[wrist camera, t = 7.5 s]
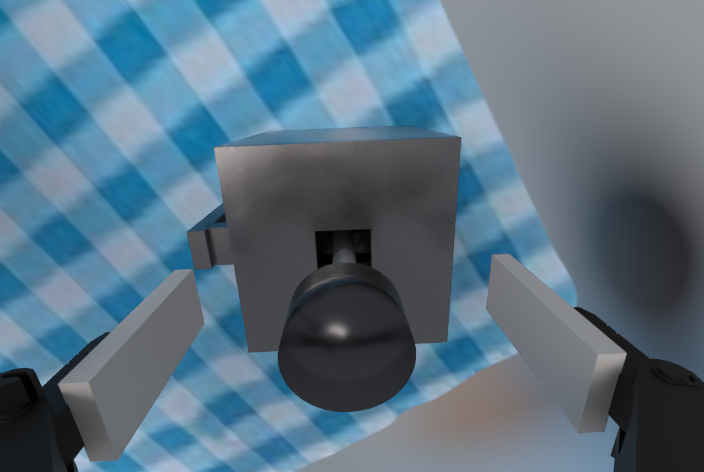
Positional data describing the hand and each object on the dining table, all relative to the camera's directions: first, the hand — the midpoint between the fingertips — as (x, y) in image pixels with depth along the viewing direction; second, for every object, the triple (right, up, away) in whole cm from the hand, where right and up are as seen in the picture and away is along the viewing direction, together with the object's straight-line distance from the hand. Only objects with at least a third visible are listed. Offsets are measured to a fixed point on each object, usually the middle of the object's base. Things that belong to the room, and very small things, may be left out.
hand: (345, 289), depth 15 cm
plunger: (-1, +5, +14) cm, 15 cm away
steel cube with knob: (-2, +6, +16) cm, 18 cm away
